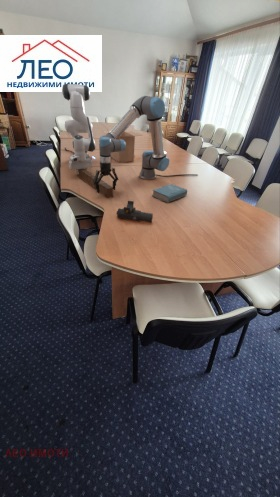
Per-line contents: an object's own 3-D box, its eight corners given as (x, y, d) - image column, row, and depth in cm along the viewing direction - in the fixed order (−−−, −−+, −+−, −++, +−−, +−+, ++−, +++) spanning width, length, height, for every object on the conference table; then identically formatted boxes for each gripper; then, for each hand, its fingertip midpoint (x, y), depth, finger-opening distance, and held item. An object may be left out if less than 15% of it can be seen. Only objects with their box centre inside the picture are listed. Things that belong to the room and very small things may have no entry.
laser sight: (150, 226, 134) (151, 211, 128) (114, 220, 137) (114, 205, 131) (152, 218, 142) (154, 204, 136) (119, 213, 144) (119, 199, 139)
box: (144, 162, 244) (146, 135, 228) (114, 165, 229) (114, 136, 213) (127, 152, 274) (128, 128, 258) (100, 154, 260) (99, 128, 243)
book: (170, 189, 184) (171, 183, 181) (186, 195, 175) (187, 189, 172) (152, 196, 171) (152, 189, 168) (168, 203, 162) (169, 196, 159)
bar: (113, 196, 166) (112, 187, 161) (107, 198, 163) (107, 188, 159) (82, 174, 201) (81, 166, 196) (77, 175, 198) (76, 167, 194)
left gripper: (90, 155, 193) (91, 171, 201) (67, 157, 183) (69, 174, 191) (93, 156, 189) (94, 173, 197) (70, 159, 179) (72, 176, 187)
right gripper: (117, 158, 162) (117, 186, 175) (86, 162, 150) (88, 192, 163) (123, 161, 158) (122, 190, 170) (91, 165, 145) (93, 196, 158)
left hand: (81, 173), depth 194 cm, fingers closed on bar, 5 cm apart
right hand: (106, 191), depth 166 cm, fingers open, 13 cm apart
